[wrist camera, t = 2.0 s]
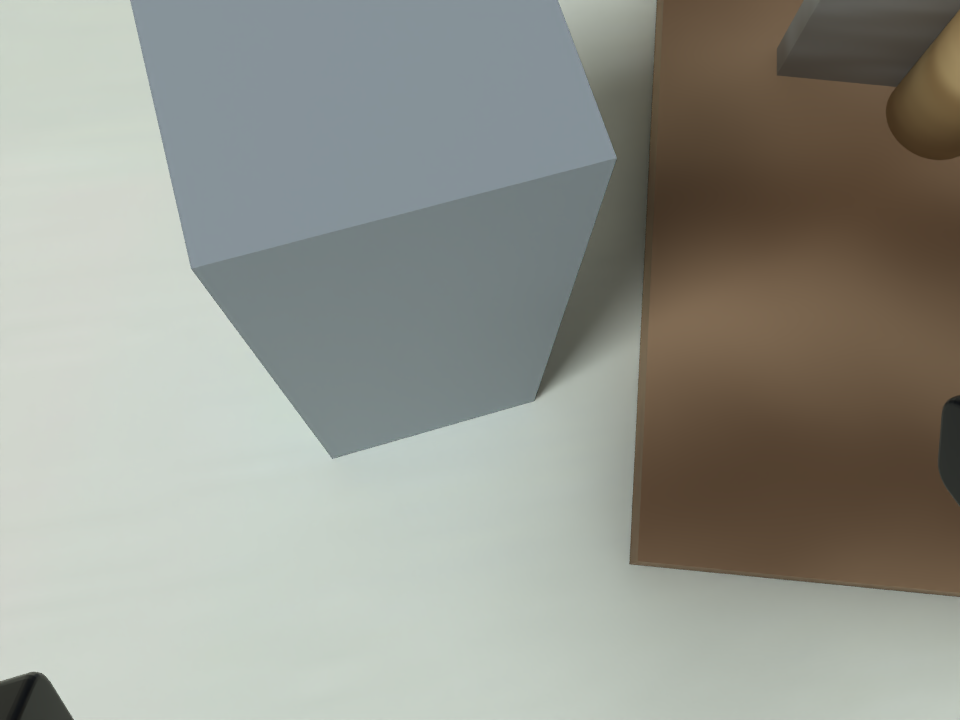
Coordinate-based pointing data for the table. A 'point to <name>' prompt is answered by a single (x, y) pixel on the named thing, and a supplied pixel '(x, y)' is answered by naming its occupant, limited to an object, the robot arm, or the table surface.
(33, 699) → the robot arm
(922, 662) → the table surface
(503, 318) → the loose hinge leaf
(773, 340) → the hinge jig
